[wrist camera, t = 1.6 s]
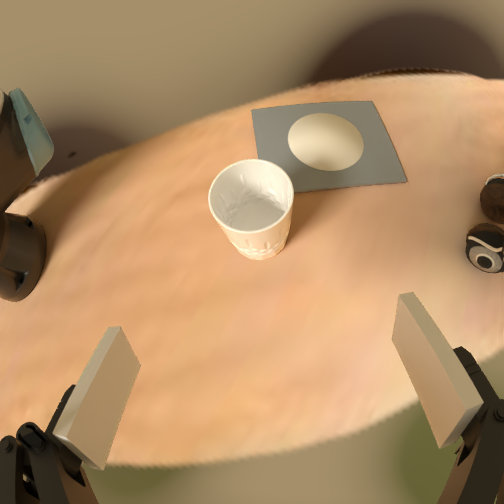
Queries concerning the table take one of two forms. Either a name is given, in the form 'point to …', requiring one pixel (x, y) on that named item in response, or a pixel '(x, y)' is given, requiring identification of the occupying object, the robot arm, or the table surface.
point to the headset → (489, 230)
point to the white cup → (253, 206)
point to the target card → (327, 145)
